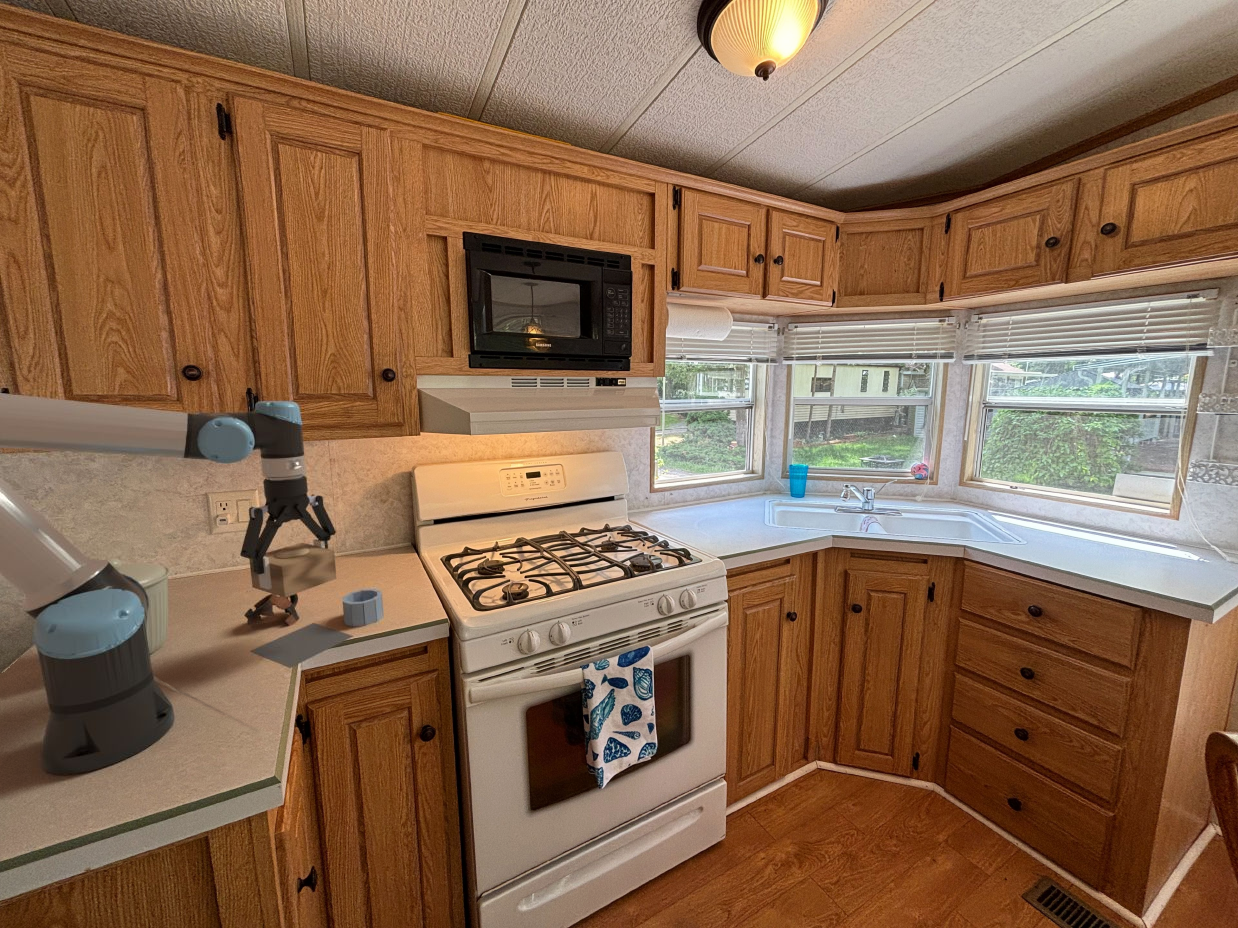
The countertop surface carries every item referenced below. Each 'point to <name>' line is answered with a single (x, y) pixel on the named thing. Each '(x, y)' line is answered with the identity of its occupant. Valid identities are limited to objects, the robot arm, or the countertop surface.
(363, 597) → the faceted blue cup
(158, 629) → the canister
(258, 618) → the brown jointed arch
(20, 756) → the countertop surface
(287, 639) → the mat
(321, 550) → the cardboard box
